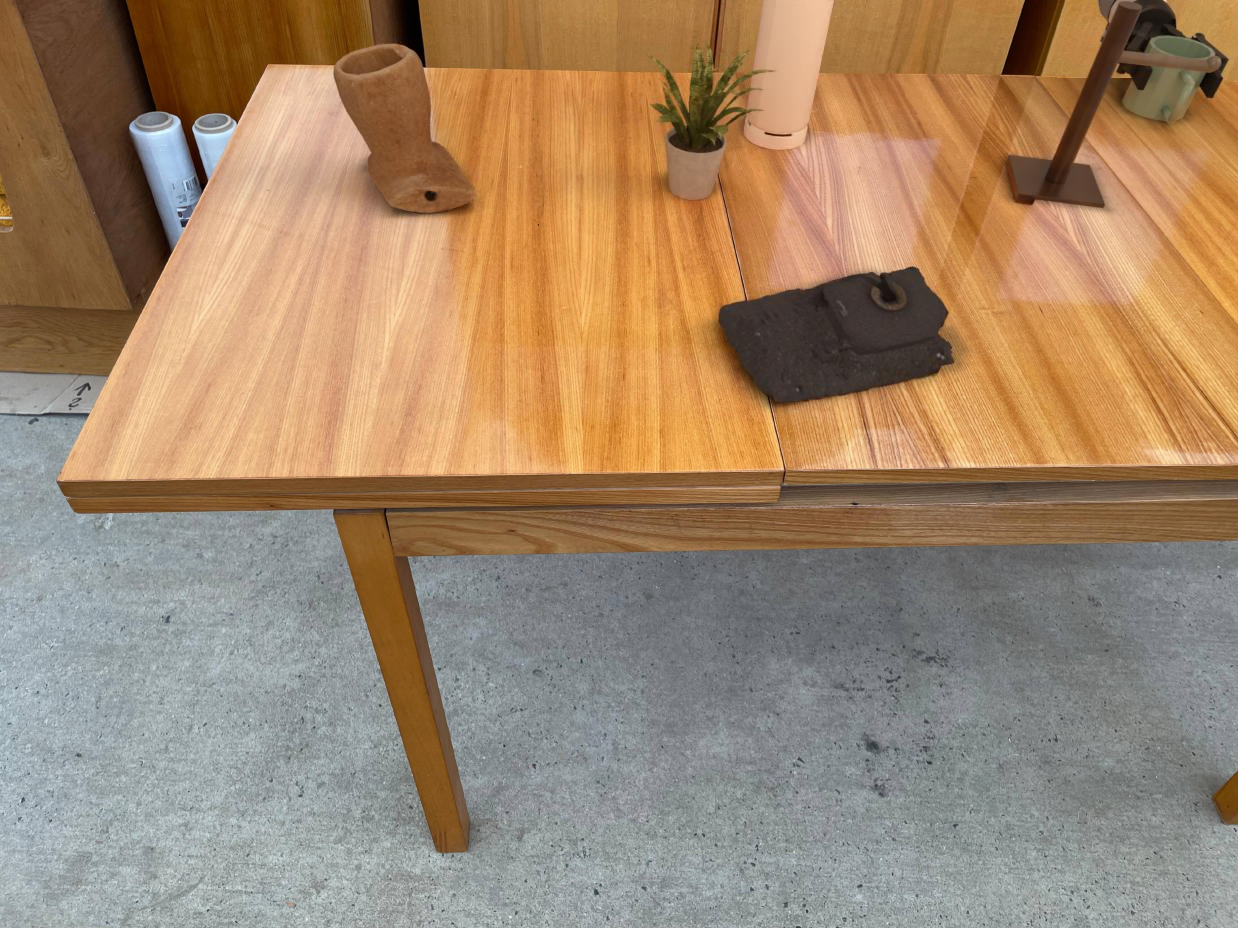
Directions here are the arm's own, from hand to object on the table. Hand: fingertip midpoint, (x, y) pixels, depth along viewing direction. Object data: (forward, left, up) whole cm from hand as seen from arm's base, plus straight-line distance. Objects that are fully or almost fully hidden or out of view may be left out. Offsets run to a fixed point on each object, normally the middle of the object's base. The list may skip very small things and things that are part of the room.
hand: (1180, 84), depth 118 cm
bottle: (+43, +35, -6) cm, 55 cm away
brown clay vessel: (+72, +73, -6) cm, 102 cm away
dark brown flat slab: (+20, +71, -6) cm, 74 cm away
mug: (+1, -3, -6) cm, 7 cm away
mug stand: (+6, +25, -6) cm, 27 cm away
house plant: (+44, +54, -6) cm, 69 cm away
